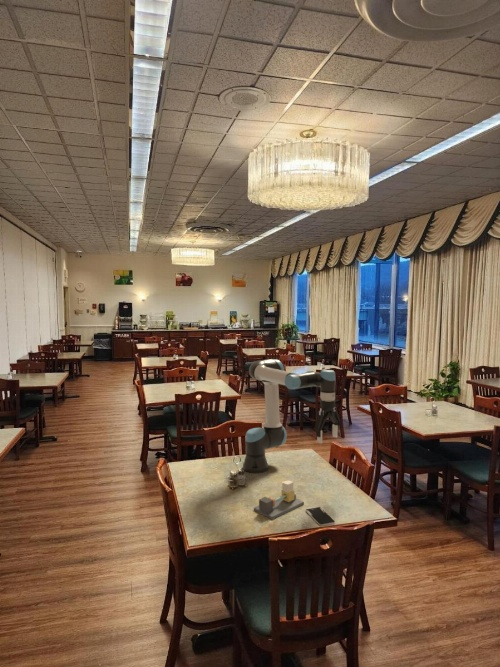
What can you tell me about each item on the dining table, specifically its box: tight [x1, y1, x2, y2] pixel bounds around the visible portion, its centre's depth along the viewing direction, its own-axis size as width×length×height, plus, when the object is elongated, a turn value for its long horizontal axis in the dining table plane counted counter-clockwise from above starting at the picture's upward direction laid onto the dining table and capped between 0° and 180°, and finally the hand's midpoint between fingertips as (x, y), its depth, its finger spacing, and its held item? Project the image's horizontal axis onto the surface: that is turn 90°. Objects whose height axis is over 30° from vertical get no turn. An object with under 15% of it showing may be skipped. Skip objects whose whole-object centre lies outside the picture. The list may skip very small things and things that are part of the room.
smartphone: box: [305, 506, 336, 527], centre depth 188 cm, size 8×1×15 cm
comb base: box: [253, 490, 305, 520], centre depth 198 cm, size 12×22×6 cm, turn 132°
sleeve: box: [281, 479, 295, 502], centre depth 201 cm, size 5×4×9 cm
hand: (327, 440), depth 215 cm, fingers open, 13 cm apart
